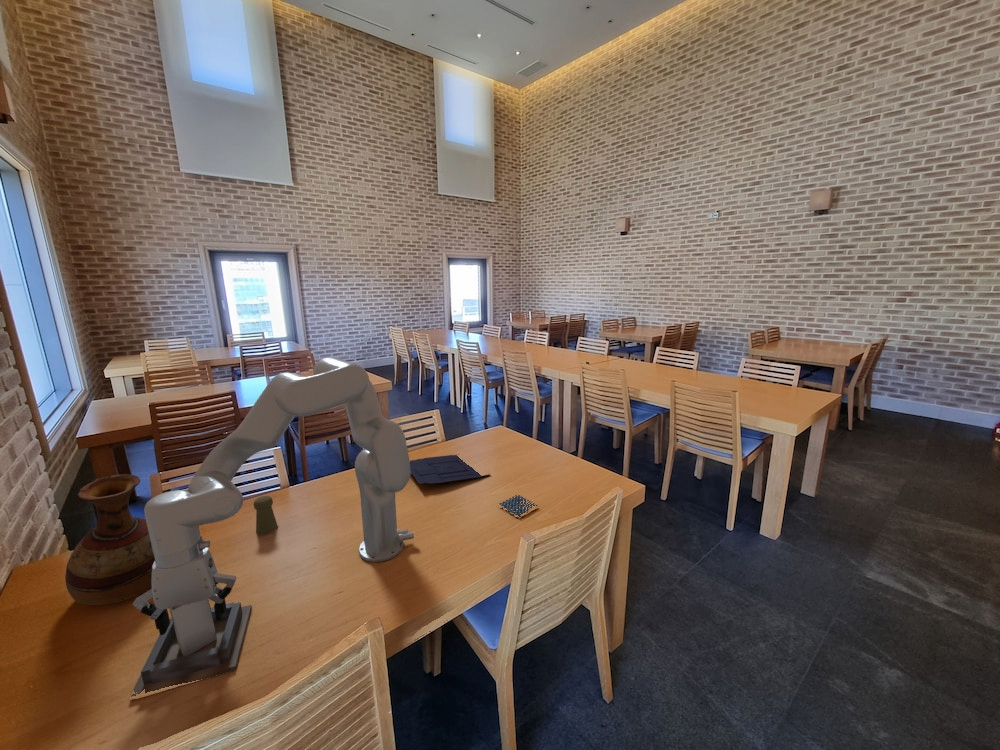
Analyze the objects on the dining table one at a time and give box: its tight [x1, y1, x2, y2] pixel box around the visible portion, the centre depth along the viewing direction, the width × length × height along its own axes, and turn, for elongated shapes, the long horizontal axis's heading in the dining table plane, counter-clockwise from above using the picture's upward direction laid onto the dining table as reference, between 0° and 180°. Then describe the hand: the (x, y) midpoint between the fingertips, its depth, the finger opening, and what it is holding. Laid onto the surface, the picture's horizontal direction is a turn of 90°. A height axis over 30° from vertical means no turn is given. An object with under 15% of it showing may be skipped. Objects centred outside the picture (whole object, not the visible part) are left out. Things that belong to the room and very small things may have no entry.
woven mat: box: [498, 494, 538, 517], centre depth 140 cm, size 10×11×2 cm
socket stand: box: [130, 601, 253, 697], centre depth 85 cm, size 17×17×4 cm
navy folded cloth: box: [409, 454, 483, 485], centre depth 165 cm, size 24×30×4 cm
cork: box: [253, 495, 279, 536], centre depth 126 cm, size 6×6×11 cm
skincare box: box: [168, 599, 217, 657], centre depth 84 cm, size 6×4×12 cm
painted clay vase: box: [64, 473, 155, 606], centre depth 100 cm, size 20×20×30 cm
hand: (193, 622), depth 84 cm, fingers open, 9 cm apart
